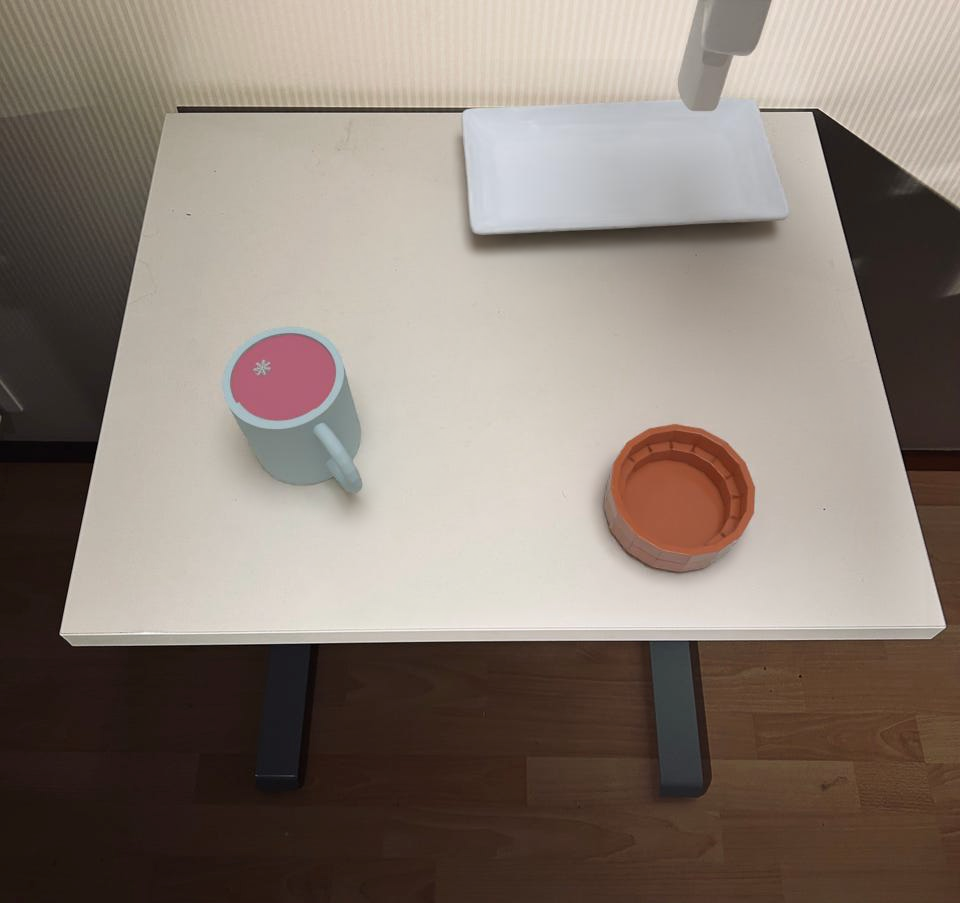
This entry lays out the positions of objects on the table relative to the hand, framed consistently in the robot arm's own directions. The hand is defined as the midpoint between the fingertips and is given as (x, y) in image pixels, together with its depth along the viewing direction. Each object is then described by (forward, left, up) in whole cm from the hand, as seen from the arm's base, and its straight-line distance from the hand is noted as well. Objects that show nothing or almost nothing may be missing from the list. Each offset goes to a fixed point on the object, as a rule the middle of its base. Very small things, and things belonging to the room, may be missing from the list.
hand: (715, 29), depth 62 cm
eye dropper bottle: (0, 0, -6) cm, 6 cm away
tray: (+5, -4, -22) cm, 23 cm away
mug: (+26, +32, -22) cm, 47 cm away
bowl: (-4, +31, -21) cm, 38 cm away
